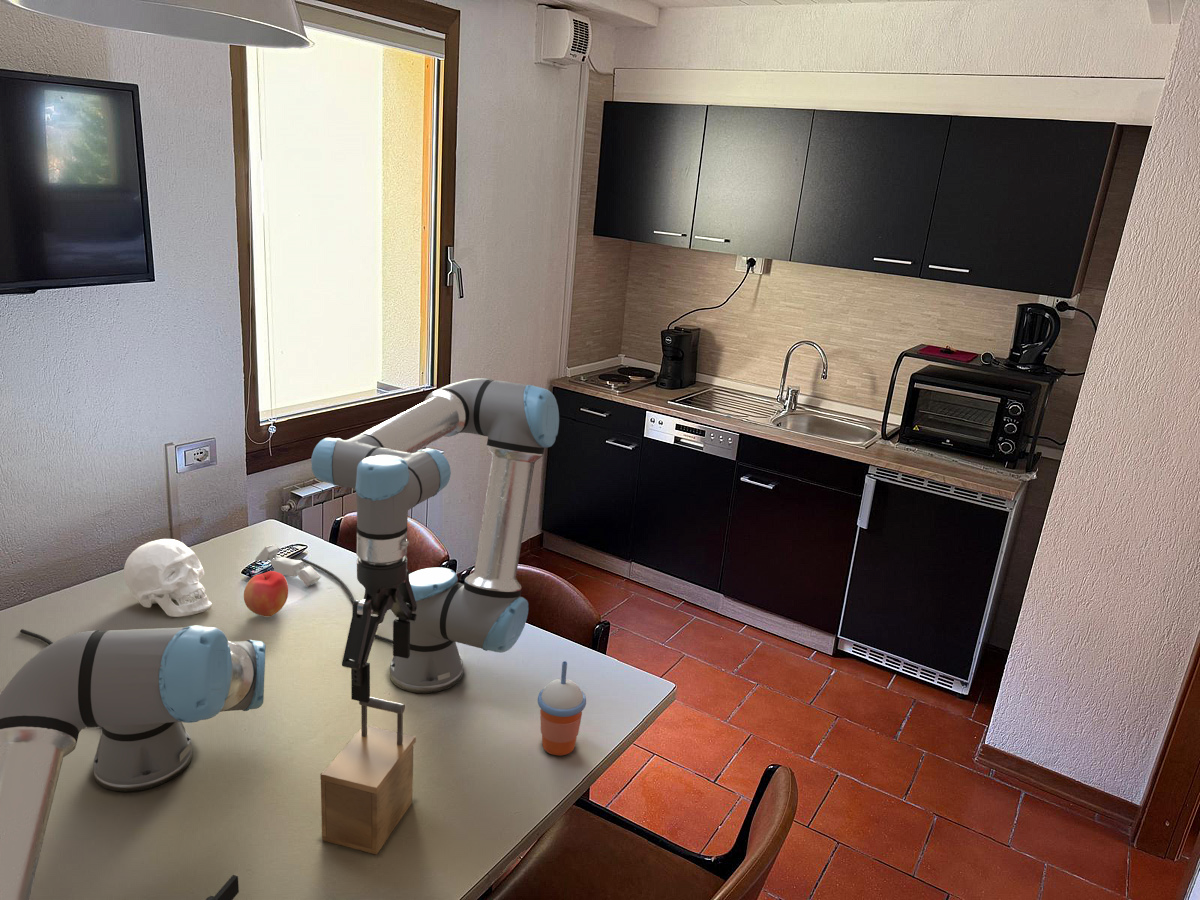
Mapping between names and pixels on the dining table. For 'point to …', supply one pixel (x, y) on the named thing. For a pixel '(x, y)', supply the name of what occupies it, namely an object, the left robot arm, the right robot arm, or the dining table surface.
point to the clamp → (288, 565)
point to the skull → (167, 577)
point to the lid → (370, 752)
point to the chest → (366, 810)
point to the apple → (266, 593)
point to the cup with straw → (560, 714)
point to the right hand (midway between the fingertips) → (381, 677)
